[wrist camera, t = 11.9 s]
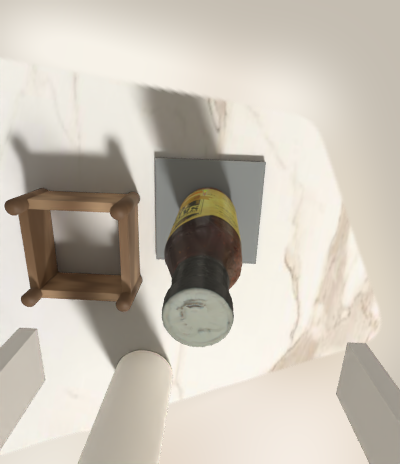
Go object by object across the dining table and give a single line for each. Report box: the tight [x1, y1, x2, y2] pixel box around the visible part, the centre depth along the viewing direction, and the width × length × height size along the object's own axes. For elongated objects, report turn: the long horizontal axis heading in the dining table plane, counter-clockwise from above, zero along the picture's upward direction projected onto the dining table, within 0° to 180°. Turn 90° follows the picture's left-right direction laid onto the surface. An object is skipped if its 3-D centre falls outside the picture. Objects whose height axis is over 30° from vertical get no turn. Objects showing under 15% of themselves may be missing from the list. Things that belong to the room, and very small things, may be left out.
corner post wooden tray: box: [5, 188, 142, 312], centre depth 35 cm, size 12×12×6 cm
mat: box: [155, 158, 266, 264], centre depth 36 cm, size 12×12×1 cm
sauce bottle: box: [162, 187, 242, 347], centre depth 26 cm, size 6×6×20 cm
